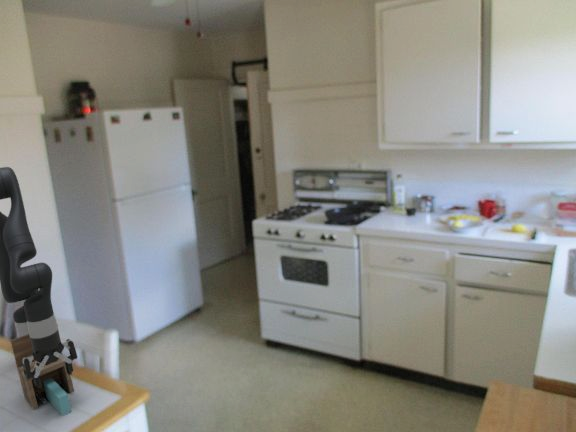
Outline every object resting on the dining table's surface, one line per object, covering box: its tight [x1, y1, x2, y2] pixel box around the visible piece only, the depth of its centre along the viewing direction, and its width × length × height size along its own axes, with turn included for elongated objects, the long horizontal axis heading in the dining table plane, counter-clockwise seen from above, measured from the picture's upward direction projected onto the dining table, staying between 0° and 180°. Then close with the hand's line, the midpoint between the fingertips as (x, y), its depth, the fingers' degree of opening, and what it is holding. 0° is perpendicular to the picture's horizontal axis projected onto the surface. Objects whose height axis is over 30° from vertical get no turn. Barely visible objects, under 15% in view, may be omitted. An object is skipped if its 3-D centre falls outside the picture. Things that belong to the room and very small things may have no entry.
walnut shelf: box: [10, 334, 75, 410], centre depth 152 cm, size 9×12×20 cm
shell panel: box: [43, 378, 72, 417], centre depth 147 cm, size 14×2×6 cm, turn 44°
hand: (55, 380), depth 145 cm, fingers open, 8 cm apart
